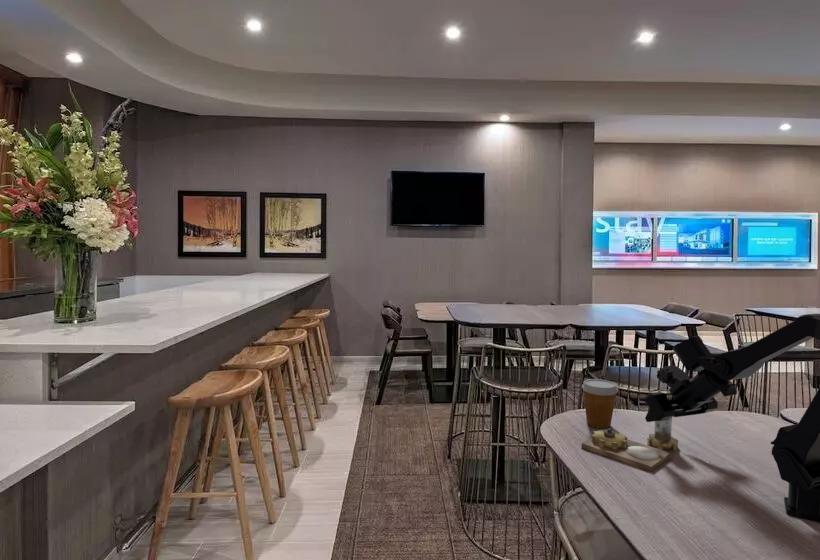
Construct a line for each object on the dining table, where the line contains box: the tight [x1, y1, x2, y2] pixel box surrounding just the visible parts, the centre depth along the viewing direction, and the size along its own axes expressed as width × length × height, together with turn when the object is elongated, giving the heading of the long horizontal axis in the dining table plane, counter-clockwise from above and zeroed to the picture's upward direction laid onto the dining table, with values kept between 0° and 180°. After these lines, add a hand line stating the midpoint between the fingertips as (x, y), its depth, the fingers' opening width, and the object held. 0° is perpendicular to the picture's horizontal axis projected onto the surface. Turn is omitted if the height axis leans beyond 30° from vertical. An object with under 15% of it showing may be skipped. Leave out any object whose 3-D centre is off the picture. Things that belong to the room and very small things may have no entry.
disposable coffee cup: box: [581, 378, 619, 429], centre depth 137 cm, size 10×10×12 cm
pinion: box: [646, 417, 679, 452], centre depth 122 cm, size 7×7×10 cm
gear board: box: [581, 427, 672, 472], centre depth 119 cm, size 17×11×5 cm, turn 41°
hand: (660, 417), depth 123 cm, fingers open, 9 cm apart
